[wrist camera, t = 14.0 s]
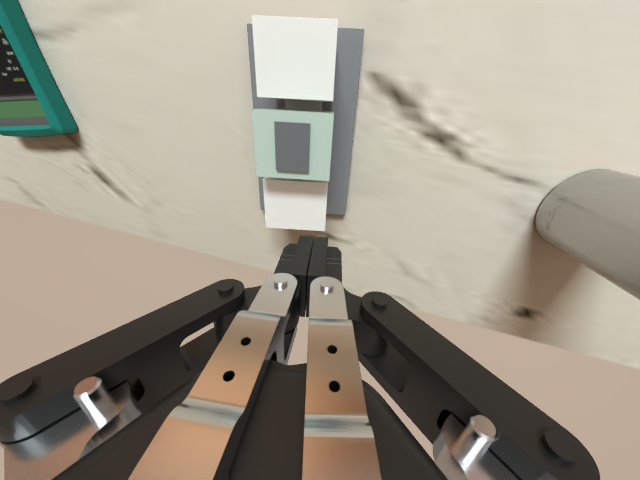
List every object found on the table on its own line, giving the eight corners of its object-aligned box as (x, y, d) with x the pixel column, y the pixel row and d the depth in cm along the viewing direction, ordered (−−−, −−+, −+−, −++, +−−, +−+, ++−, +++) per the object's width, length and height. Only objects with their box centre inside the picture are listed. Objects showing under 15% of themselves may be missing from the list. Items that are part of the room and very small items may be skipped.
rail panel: (362, 33, 22) (376, -1, 15) (344, 211, 30) (348, 242, 23) (251, 27, 22) (213, -8, 15) (263, 206, 30) (243, 235, 23)
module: (333, 111, 23) (333, 113, 16) (330, 160, 25) (329, 182, 18) (276, 108, 23) (250, 109, 16) (277, 157, 26) (255, 177, 18)
